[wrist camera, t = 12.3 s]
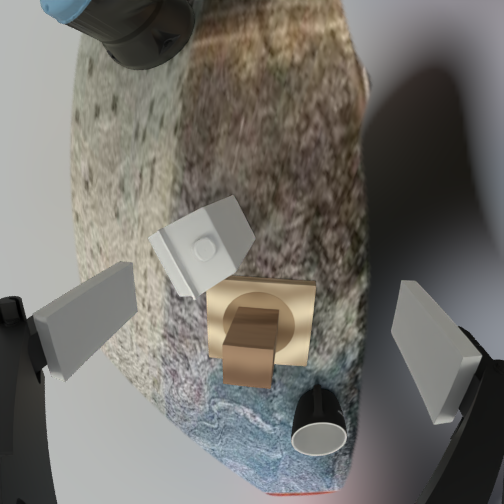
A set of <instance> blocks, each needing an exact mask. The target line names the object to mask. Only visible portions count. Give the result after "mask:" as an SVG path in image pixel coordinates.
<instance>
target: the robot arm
mask: <svg viewBox="0 0 504 504" xmlns="http://www.w3.org/2000/svg"><path fill="white" fill-rule="evenodd" d="M40 3H41V7H42V9H43V10H44V12H45V13H46V14H48V15H50V16H51V17H53V18H55V19H56V20H57V21H58V22H59V23H62V24H65V25H68V26H70V27H72V28H74V29H76V30H78V31H80V32H83V33H85V34H87V35H89V36H91V37H93V38H95V39H97V40H99V41H101V42H102V44H103V46H104V47H105V49H106V50H107V52H108V54H109V55H110V57H111V58H112V59H113V60H114V61H115V62H117V63H118V64H120V65H122V66H124V67H126V68H129V69H134V70H144V69H149V68H153V67H156V66H158V65H160V64H162V63H164V62H166V61H168V60H169V59H170V58H172V57H173V56H174V55H176V54H177V53H178V52H179V51H180V50H181V49H182V47H183V46H184V45H185V44H186V42H187V41H188V39H189V37H190V35H191V33H192V30H193V27H194V12H193V9H192V7H191V6H190V4H189V3H188V2H187V0H40ZM137 312H138V310H137V302H136V293H135V284H134V274H133V263H132V262H122V261H120V262H118V263H116V264H115V265H113V266H111V267H109V268H108V269H106V270H104V271H102V272H101V273H99V274H97V275H96V276H94V277H92V278H90V279H89V280H87V281H85V282H84V283H82V284H80V285H79V286H77V287H75V288H74V289H72V290H70V291H69V292H67V293H65V294H64V295H62V296H61V297H59V298H57V299H56V300H54V301H52V302H51V303H49V304H48V305H46V306H45V307H43V308H41V309H40V310H38V311H36V312H35V313H33V315H32V316H31V317H29V318H28V319H26V315H25V311H24V307H23V303H22V299H21V298H20V297H17V296H9V297H5V298H2V299H0V504H57V500H56V495H55V490H54V484H53V479H52V472H51V466H50V458H49V450H48V441H47V429H46V414H45V385H44V384H45V376H44V373H43V371H42V368H43V367H44V366H46V365H48V368H49V371H50V373H51V376H52V377H54V378H56V379H59V380H62V381H64V382H66V381H67V380H68V379H69V378H70V377H71V376H72V374H74V373H75V372H76V371H77V370H78V369H79V368H80V367H81V366H82V365H83V364H84V363H85V362H86V361H87V360H88V359H89V358H90V357H91V356H92V355H93V354H94V353H95V352H96V351H97V350H98V349H99V348H100V347H101V346H102V345H103V344H104V343H105V342H106V341H107V340H109V339H110V338H111V337H112V336H113V335H114V334H115V333H116V332H117V331H118V330H119V329H120V328H121V327H122V326H123V325H124V324H125V323H126V322H127V321H128V320H129V319H131V318H132V317H133V316H134V315H135V314H136V313H137ZM391 333H392V335H393V337H394V339H395V341H396V343H397V345H398V347H399V349H400V351H401V354H402V355H403V358H404V360H405V362H406V364H407V366H408V368H409V370H410V372H411V374H412V376H413V379H414V381H415V383H416V385H417V387H418V390H419V392H420V394H421V396H422V398H423V400H424V403H425V405H426V408H427V409H428V412H429V415H430V417H431V419H432V422H433V424H442V423H448V422H452V421H453V419H454V417H455V415H456V413H457V411H458V409H459V410H460V412H461V414H462V415H463V417H462V419H461V421H460V422H459V424H458V426H457V428H456V430H455V431H454V433H453V435H452V436H451V438H450V439H451V441H450V443H449V445H448V447H447V449H446V451H445V453H444V455H443V457H442V459H441V460H440V462H439V464H438V466H437V468H436V470H435V471H434V473H433V475H432V477H431V478H430V480H429V481H428V483H427V485H426V486H425V488H424V489H423V491H422V493H421V494H420V496H419V497H418V499H417V500H416V502H415V503H414V504H488V501H489V498H490V496H491V493H492V491H493V488H494V485H495V482H496V479H497V476H498V472H499V470H500V467H501V463H502V459H503V456H504V360H493V359H492V358H491V357H490V356H489V354H488V353H487V352H486V351H485V350H484V348H483V347H482V346H480V344H479V343H478V342H477V340H475V338H474V337H473V336H472V335H471V334H470V332H468V331H467V330H465V329H464V328H462V327H460V326H457V325H456V324H455V323H454V322H453V321H452V320H451V318H450V317H449V316H448V315H447V314H446V313H445V312H444V311H443V310H442V309H441V307H440V306H439V305H438V304H437V303H436V302H435V301H434V300H433V299H432V298H431V297H430V296H429V294H428V293H427V292H426V291H425V290H424V289H423V288H422V287H421V286H420V285H419V284H418V283H417V282H416V281H404V280H402V281H401V286H400V291H399V297H398V303H397V307H396V312H395V316H394V321H393V325H392V329H391ZM502 504H504V480H503V495H502Z"/></svg>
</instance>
